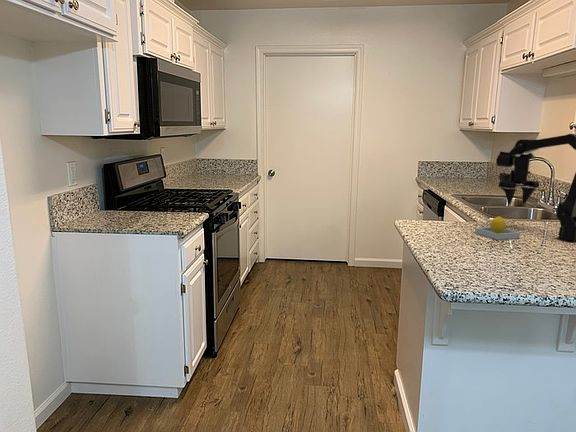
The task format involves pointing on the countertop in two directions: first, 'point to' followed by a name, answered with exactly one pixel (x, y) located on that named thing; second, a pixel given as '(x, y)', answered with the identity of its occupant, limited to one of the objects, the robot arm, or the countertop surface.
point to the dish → (502, 236)
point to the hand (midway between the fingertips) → (516, 203)
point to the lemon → (498, 225)
